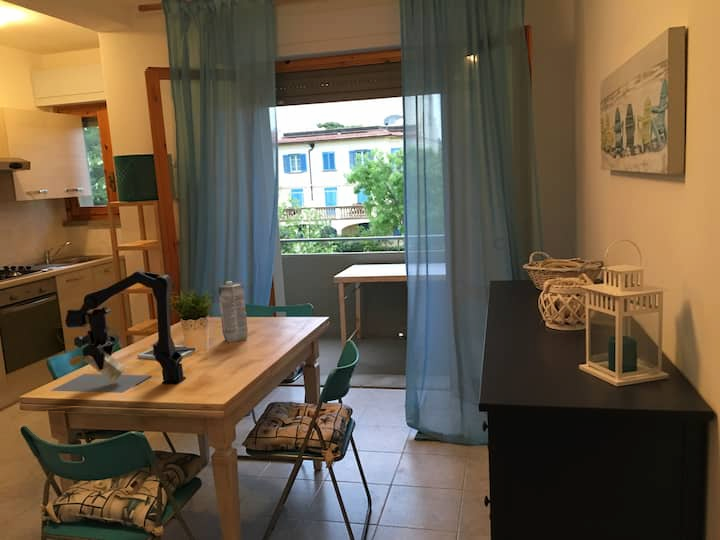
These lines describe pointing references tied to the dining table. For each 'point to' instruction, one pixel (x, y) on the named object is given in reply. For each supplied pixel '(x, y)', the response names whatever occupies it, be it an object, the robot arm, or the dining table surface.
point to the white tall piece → (108, 367)
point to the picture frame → (180, 349)
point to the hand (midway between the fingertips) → (104, 367)
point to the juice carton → (233, 311)
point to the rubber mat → (102, 383)
